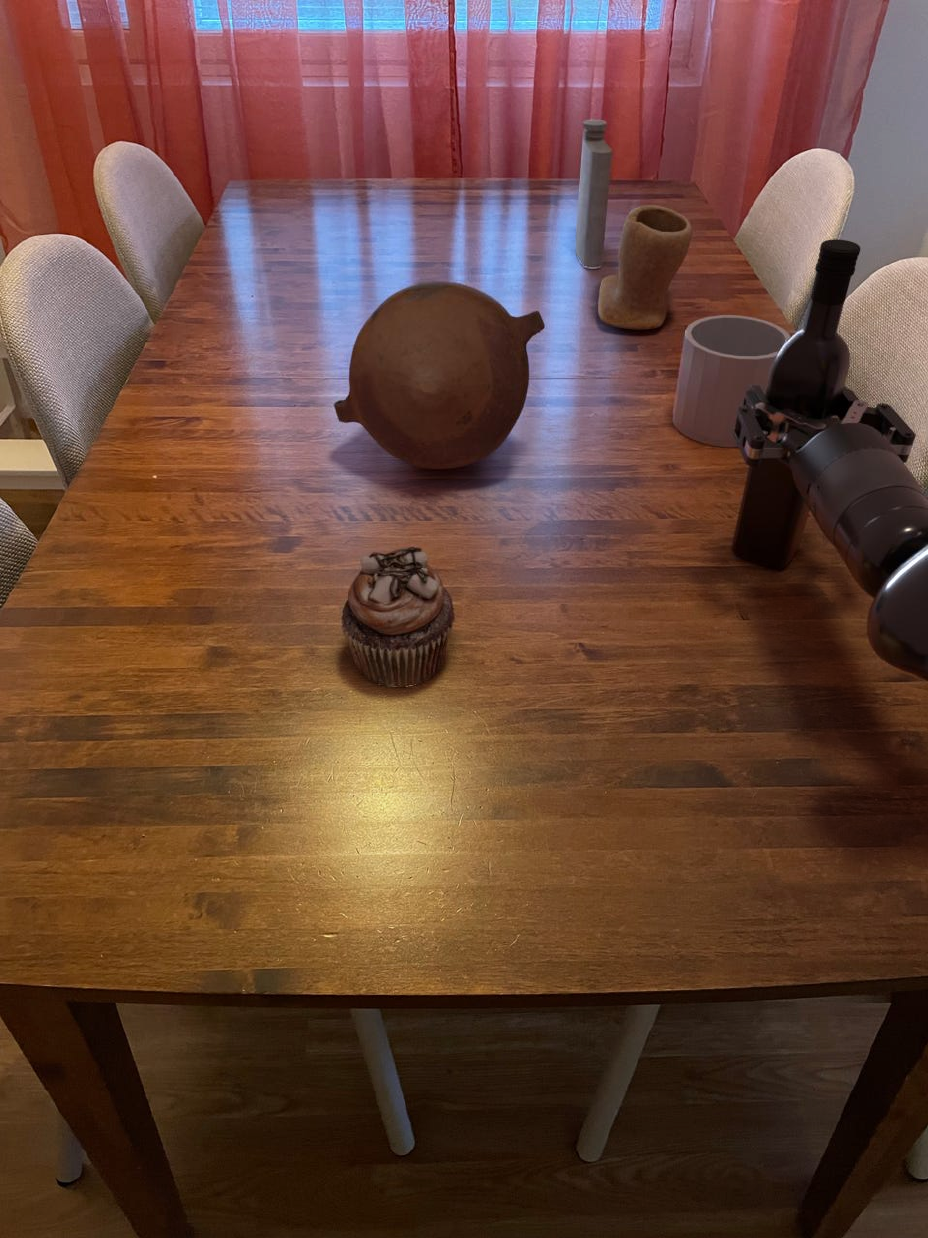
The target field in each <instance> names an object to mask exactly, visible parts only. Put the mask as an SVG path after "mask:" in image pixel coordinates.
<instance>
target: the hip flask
mask: <svg viewBox="0 0 928 1238" xmlns="http://www.w3.org/2000/svg"><path fill="white" fill-rule="evenodd" d="M607 125H608V122H607V121H606V120H603V119H586V120H584V121H582V128H583V131H582V141H581V142H582V143H581V155H580V156H581V157H580V170H579V171H580V172H579V185H578V200H577V213H576V229H575V240H574V241H575V243H574V249H575V248H576V251H575V254H576V253H577V256H578V258H579V260H580V261H581V263H582V264H583V265H584V266H587V267H599V266H602V267H603V259H604V248H605V237H606V225H607V214H608V204H609V203H608V202H609V191H610V181H611V180H610V179H611V169H612V159H613V158H612V157H613V149H612V148H610V146H609V145H608V144H607V142H606V141H605V133H606V132H605V130H607ZM577 256H576V257H577ZM578 258H577V259H578ZM579 260H578V261H579Z"/></svg>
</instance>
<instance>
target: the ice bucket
mask: <svg viewBox="0 0 928 1238" xmlns="http://www.w3.org/2000/svg"><path fill="white" fill-rule="evenodd" d="M791 336H792V335H791V334H790V333H789V332H788V331H786V330H785V329H784V328H783V327H781V326H779V325H777V324H775V323H773V322H770V321H767V320H764V319H761V318H760V319H759V318H757V317H753V316H752V317H751V316H745V315H738V314H737V315H736V314H719V315H711V316H705V317H703V318H700V319H697V320H694V321H693V322H691V323H690V324H688V325H687V327H686V329H685V331H684V335H683V342H682V349H681V355H680V362H679V369H678V374H677V382H676V387H675V394H674V401H673V407H672V419H671V420H672V423H673V426H674V427H675V429H676V430H677V431H678V432H679V433H680V434H681V435H683V436H685V437H686V438H688V439H690V440H692V441H695V442H697V443H701V444H704V445H708V446H712V447H719V448H738V446H737V443H736V441H735V439H734V437H733V429H734V426H735V422H736V417H737V409H738V408H739V407H743V402H744V397H745V392H746V391H749V388H750V386H751V385H759V386H760V388H761V389H762V391H763V392H764V394H766V389H767V385H768V380H769V376H770V371H771V368H772V365H773V362H774V360H775V358H776V355H777V353H778V351H779V350H780V349H781V347H782V346H783V345H784V343H785V342H786V341H787V340H788V339H789V338H790V337H791Z"/></svg>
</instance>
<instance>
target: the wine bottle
mask: <svg viewBox="0 0 928 1238" xmlns="http://www.w3.org/2000/svg"><path fill="white" fill-rule="evenodd" d="M861 250H862V249H861V246H860V245H859V244H858V243H856V242H854V241H851V240H846V239H840V238H839V239H834V238H833V239H826V240H824V241H822V242H821V244H820V247H819V253H818V258H817V262H816V264H815V268H814V270H815V276H814V281H813V284H812V289H811V292H810V297H809V301H808V307H807V310H806V313H805V319H804V322H803V326H802V327H801V328H800V329H798V330H797V331H795V333H793V335H790V336H791V337H790V338H789V339H788V340H787V341H786V342H785V343H784V345H783V346H782V347H781V349H780V350H779V351H778V353H777V355H776V358H775V360H774V362H773V365H772V368H771V371H770V376H769V380H768V385H767V389H766V394H765V396H766V397H767V399H768V400H769V402H770V405H771V406H773V407H775V408H777V409H779V410H781V411H782V410H784V409H790V410H792V411H794V412H796V413H798V414H800V415H802V416H804V417H806V418H812V419H824V418H837V415H836V414H837V411H838V407H839V403H840V400H841V396H842V393H843V389H844V386H846V382H847V379H848V375H849V370H850V362H851V361H850V360H851V353H850V349H849V346H848V343H847V342H846V341H845V340H844V338H843V337H842V336H841V335H840V334H839V333H838V328H839V325H840V321H841V318H842V314H843V309H844V305H845V302H846V298H847V294H848V291H849V287H850V283H851V279H852V276H854V274H855V271H856V266H857V261H858V258H859V256H860V253H861ZM772 425H773V422H772V420H771V419H769V418H768V421H767V426H768V427H770V428H771V429H772ZM792 426H793V425H791V424H789V425H788V429H787V432H788V431H789V430H790V429H791V427H792ZM786 434H787V433H786ZM810 512H811V511H810V510H809V508H808V506H807V504H806V503H805V501H804V499H803V498H802V496H801V494H800V492H799V491H798V489H797V487H796V485H795V482H794V479H793V475H792V471H791V469H790V468H789V467H788V466H787V465H785V464H783V463H782V462H781V461H780V460H779V458H761V463H760V465H759V466H757V467H751V466H748V470H747V476H746V479H745V484H744V488H743V494H742V497H741V501H740V506H739V511H738V516H737V520H736V525H735V530H734V533H733V539H732V543H731V547H730V550H731V552H732V553H733V555H735V556H737V557H739V558H741V559H742V558H743V559H746V560H748V561H751V562H754V563H756V564H759V565H762V566H766V567H768V568H771V569H775V570H780V569H784V568H786V567H787V566H788V564H789V563H790V562H791V561H792V559H793V557H794V556H795V554H796V553H797V552H798V551H799V549H800V546H801V543H802V540H803V535H804V532H805V529H806V524H807V521H808V518H809V514H810Z"/></svg>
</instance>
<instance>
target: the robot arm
mask: <svg viewBox="0 0 928 1238" xmlns="http://www.w3.org/2000/svg"><path fill="white" fill-rule="evenodd" d="M768 418H769V419H771V420H772V422H773V425H772V429H771V428H770V427H768V426H767V421H768ZM789 424H791V425H793V426H792V427H791V429H790V430H789V431H788V432H787V429H788V425H789ZM786 433H787V434H786ZM916 436H917V433H915V431H914V430H913V429H912V428H911V427H910V426H909V425H908V424H907V423H906V421H905V420H904V419H903V418H902V417H901V416H900V415H899V414H898V413H897V412H896V410H895V409H894V408H893V407H892V406H891V404H888V403H883V402H882V403H881V402H880V403H877V404H876V407H874V406H869V403H868V402H867V401H866V400H860V398H859V397H858V396H857V395H856V393H855V392H854V391H853V390H852V389H850V388H848V387H847V386H846V385H845V386H844V389H843V393H842V396H841V400H840V403H839V407H838V411H837V414H836V418H824V419H812V418H806V417H804V416H802V415H800V414H798V413H796V412H794V411H792V410H790V409H784V410H782V411H781V410H779V409H777V408H775V407H773V406H771V405H770V402H769V400H768V399H767V397H766V396H765V394H764V392H763V391H762V389H761V388H760V386H759V385H751V386H750V388H749V391H746V392H745V397H744V402H743V407H739V408H738V409H737V417H736V422H735V426H734V429H733V437H734V439H735V441H736V443H737V446H738V447H737V448H738V450H739V452H740V455H741V456H742V458H743V461H744V462H745V465H747V466H748V467H749V466H751V467H757V466H759V465H760V463H761V458H779V460H780V461H781V462H782V463H783V464H785V465H787V466H788V467H789V468H790V469H791V471H792V475H793V479H794V482H795V485H796V487H797V489H798V491H799V492H800V494H801V496H802V498H803V499H804V501H805V503H806V504H807V506H808V508H809V510H810V511H809V512H810V514H811V515H812V517H813V518H814V520H815V522H816V524H817V525H818V527H819V528H820V530H821V532H822V534H823V535H824V537H825V538H826V539H827V540H828V541H829V542H830V544H831V545H832V546H833V547H834V548H835V549H836V551H837V553H838V554H839V556H840V558H841V559H842V561H843V564H845V566H846V568H847V570H848V571H849V573H850V575H851V576H852V578H853V579H854V581H855V582H856V584H857V585H858V586H859V587H860V588H861V590H863V591H864V592H865V593H866V594H867V595H869V596H870V597H871V598H872V602H871V604H870V607H869V611H868V615H867V620H866V621H867V622H866V633H867V639H868V642H869V646H871V649H872V650H873V652H874V653H875V654H876V655H877V656H878V657H879V658H880V659H881V660H883V661H884V662H885V663H887V664H888V665H890V666H892V667H893V668H896V669H898V670H900V671H903V672H905V673H907V674H910V675H913V676H915V677H917V678H920V679H922V680H924V681H927V682H928V499H927V497H926V496H925V494H924V491H923V490H922V488H921V487H922V486H921V485H920V484H919V481H918V480H917V478H916V477H915V475H914V474H913V473H912V472H911V471H910V469H909V468H908V467H907V465H906V463H907V462H908V460H909V457H910V453H911V451H912V448H913V446H914V442H915V440H916Z"/></svg>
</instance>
